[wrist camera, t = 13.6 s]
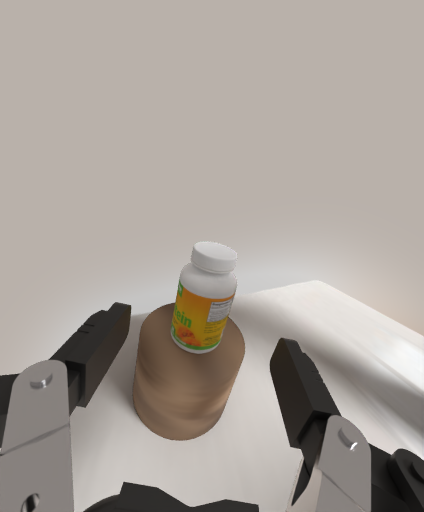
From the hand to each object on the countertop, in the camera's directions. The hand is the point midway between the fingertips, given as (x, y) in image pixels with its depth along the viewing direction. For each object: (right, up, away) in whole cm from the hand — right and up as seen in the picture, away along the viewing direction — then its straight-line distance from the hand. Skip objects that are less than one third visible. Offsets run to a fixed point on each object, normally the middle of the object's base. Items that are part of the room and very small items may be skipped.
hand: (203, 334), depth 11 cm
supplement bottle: (-1, -4, +11) cm, 11 cm away
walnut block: (-3, -11, +13) cm, 18 cm away
